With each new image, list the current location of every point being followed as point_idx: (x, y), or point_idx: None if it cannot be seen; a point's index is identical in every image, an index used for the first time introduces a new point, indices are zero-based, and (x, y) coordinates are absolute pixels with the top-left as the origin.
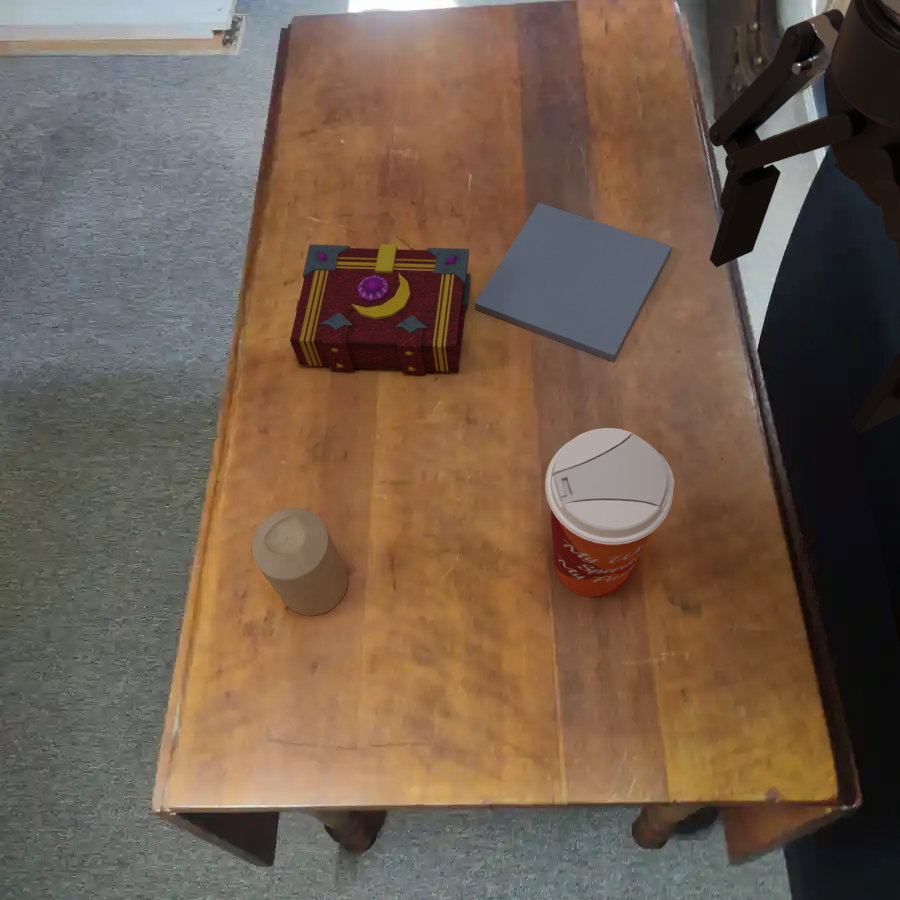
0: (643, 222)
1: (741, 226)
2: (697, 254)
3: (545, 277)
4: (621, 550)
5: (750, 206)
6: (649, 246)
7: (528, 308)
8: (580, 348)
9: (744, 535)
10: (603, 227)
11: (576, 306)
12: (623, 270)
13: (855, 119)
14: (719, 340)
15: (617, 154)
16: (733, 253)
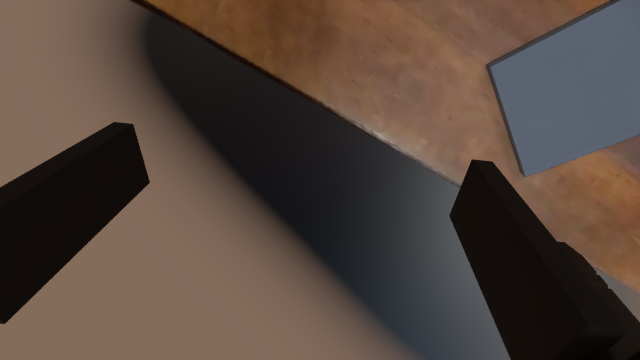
0: (562, 176)
1: (494, 237)
2: None
3: (614, 66)
4: None
5: (514, 284)
6: (542, 164)
7: (607, 25)
8: (522, 46)
9: (290, 50)
10: (595, 147)
11: (560, 71)
12: (546, 132)
13: None
14: (432, 149)
15: (630, 204)
16: (467, 194)
